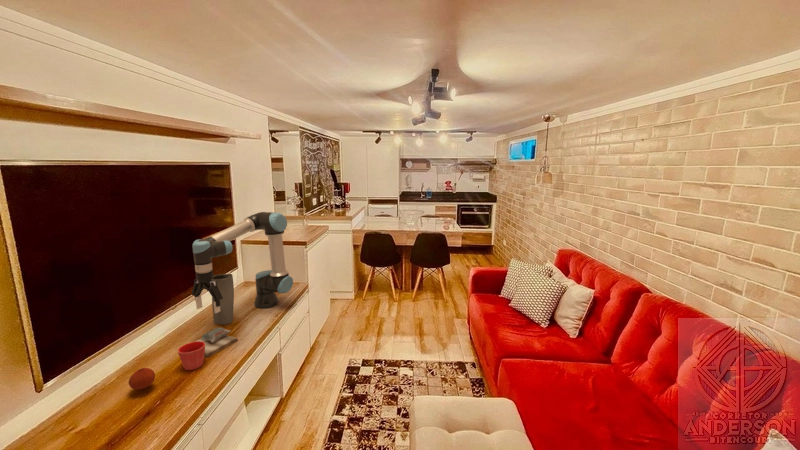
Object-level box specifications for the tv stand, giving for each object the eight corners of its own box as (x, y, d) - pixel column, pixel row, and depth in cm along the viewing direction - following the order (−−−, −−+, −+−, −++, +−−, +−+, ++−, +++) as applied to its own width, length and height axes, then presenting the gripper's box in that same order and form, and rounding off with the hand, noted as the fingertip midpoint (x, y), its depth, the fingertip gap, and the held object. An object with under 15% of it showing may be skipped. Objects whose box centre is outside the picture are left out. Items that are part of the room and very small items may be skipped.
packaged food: (231, 334, 178) (230, 326, 177) (212, 345, 167) (211, 336, 166) (219, 332, 181) (218, 324, 180) (200, 342, 170) (199, 334, 169)
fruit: (132, 384, 140) (129, 367, 138) (157, 378, 144) (155, 361, 143) (127, 396, 132) (124, 378, 131) (154, 389, 136) (151, 372, 135)
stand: (214, 334, 183) (214, 331, 183) (237, 340, 176) (237, 337, 176) (183, 350, 167) (182, 346, 166) (207, 357, 160) (206, 354, 160)
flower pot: (182, 362, 156) (180, 343, 155) (208, 357, 160) (206, 339, 159) (177, 374, 147) (175, 354, 145) (205, 368, 151) (203, 349, 149)
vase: (208, 327, 192) (203, 279, 187) (221, 318, 204) (217, 273, 199) (227, 328, 190) (223, 280, 186) (240, 319, 202) (236, 273, 198)
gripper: (180, 270, 166) (185, 309, 170) (214, 276, 157) (218, 317, 161) (194, 266, 173) (199, 303, 177) (227, 272, 164) (231, 311, 167)
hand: (208, 310), depth 169 cm, fingers open, 13 cm apart
